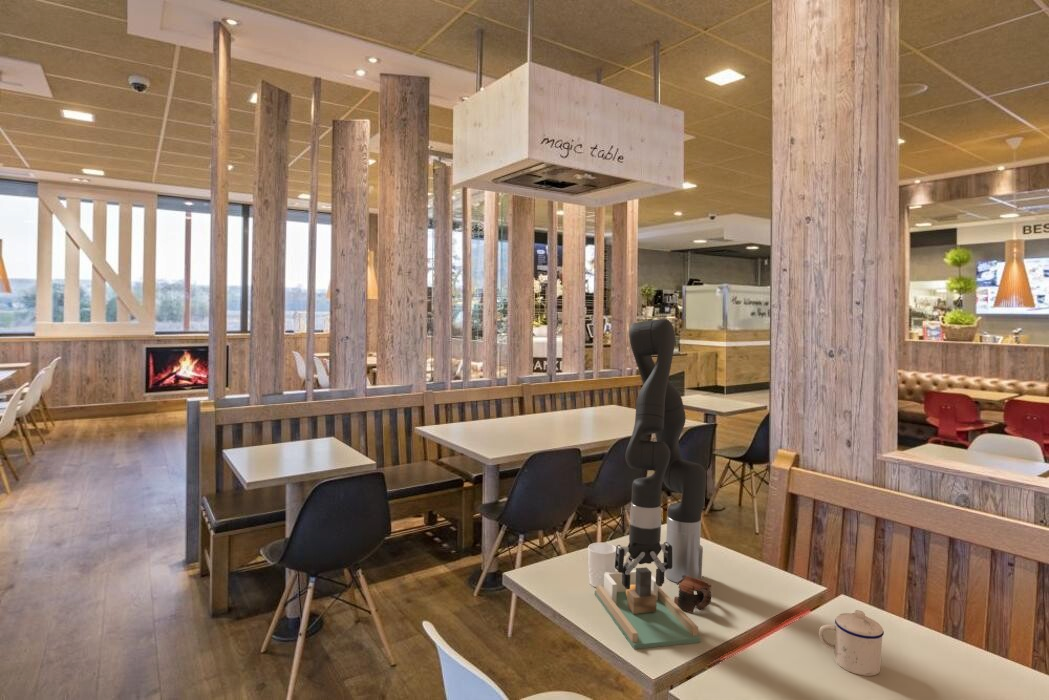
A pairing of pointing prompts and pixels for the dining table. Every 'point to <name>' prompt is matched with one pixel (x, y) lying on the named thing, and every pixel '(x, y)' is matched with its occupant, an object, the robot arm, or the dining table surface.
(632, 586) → the ball
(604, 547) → the white cup
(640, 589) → the striker
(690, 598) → the pottery mug
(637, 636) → the pitch
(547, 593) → the dining table surface
